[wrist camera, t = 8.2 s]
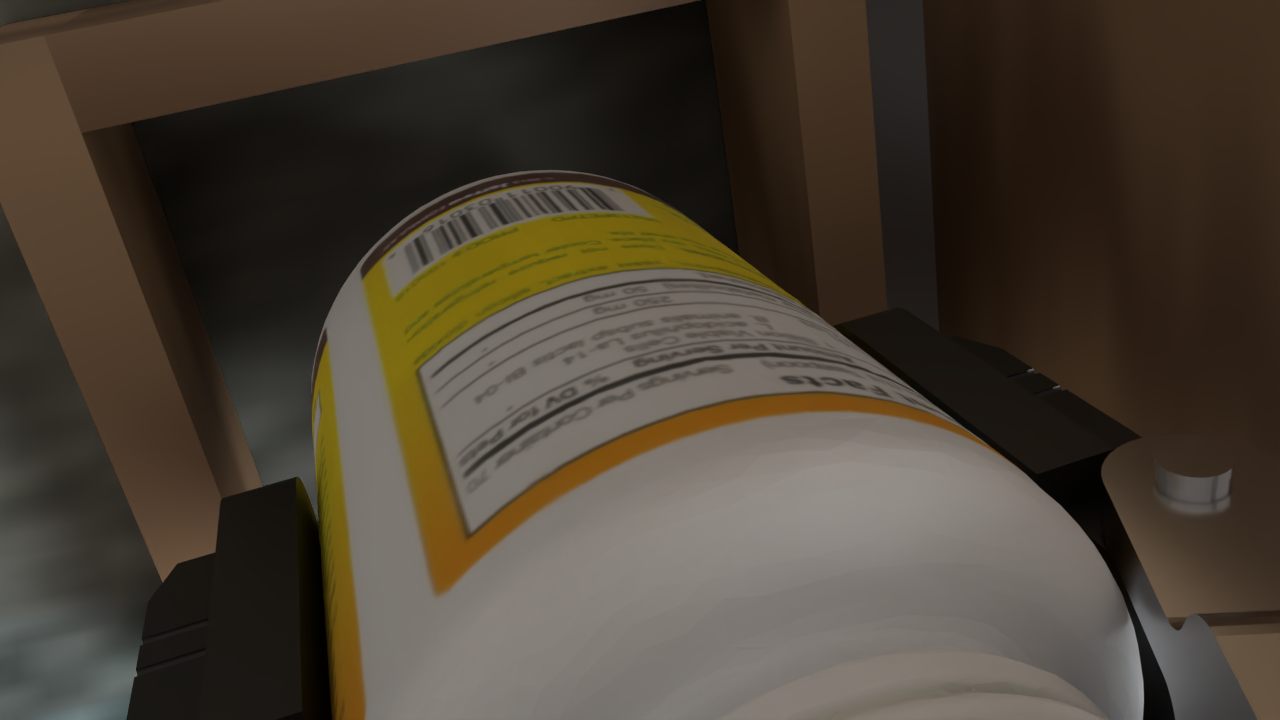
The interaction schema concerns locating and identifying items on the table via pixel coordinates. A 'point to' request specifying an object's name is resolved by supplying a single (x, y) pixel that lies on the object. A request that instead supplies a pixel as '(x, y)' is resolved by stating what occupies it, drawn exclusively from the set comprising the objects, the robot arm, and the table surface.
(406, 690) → the supplement bottle
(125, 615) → the table surface
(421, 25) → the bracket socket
